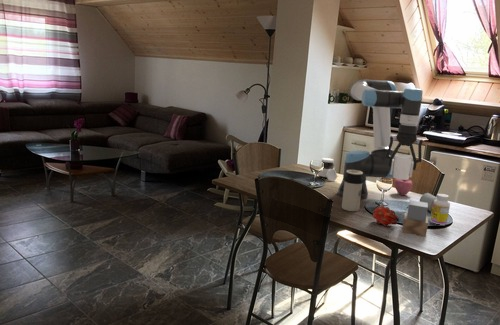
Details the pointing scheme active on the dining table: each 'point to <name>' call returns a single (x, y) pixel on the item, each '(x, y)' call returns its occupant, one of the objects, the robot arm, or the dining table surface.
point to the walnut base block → (414, 226)
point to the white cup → (402, 166)
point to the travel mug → (352, 190)
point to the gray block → (417, 210)
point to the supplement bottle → (440, 209)
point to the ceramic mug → (428, 200)
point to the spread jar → (328, 170)
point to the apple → (403, 186)
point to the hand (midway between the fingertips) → (400, 175)
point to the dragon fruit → (385, 216)
